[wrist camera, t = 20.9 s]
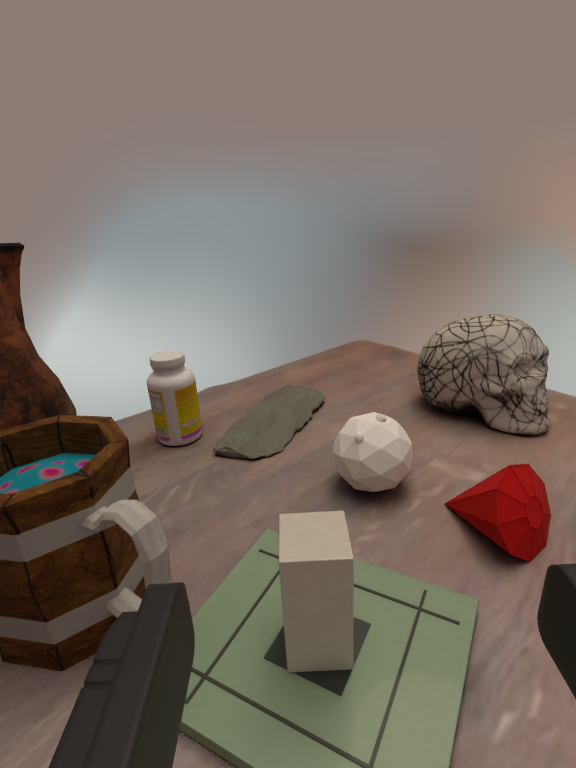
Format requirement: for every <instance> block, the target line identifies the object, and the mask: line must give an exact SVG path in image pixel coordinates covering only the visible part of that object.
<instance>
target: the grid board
mask: <svg viewBox="0 0 576 768" xmlns="http://www.w3.org/2000/svg"><path fill="white" fill-rule="evenodd" d="M478 603H479V600H478V599H475V598H472V597H469V596H466V595H463V594H460V593H458V592H455V591H452V590H449V589H446V588H443V587H440V586H437V585H434V584H431V583H428V582H425V581H422V580H419V579H416V578H413V577H410V576H407V575H404V574H401V573H398V572H395V571H392V570H389V569H386V568H383V567H380V566H377V565H374V564H371V563H368V562H365V561H362V560H359V559H356V558H354V637H353V669H352V670H332V671H310V672H288V671H287V660H286V648H285V635H284V623H283V610H282V598H281V585H280V573H279V532H276V531H273V530H270V529H266V530H265V531H264V532H263V533H262V535H261V536H260V537H259V538H258V539H257V541H256V542H255V543H254V544H253V545H252V547H251V548H250V549H249V550H248V551H247V553H246V554H245V555H244V556H243V557H242V559H241V560H240V561H239V562H238V563H237V565H236V566H235V567H234V568H233V569H232V571H231V572H230V573H229V574H228V575H227V577H226V578H225V579H224V580H223V581H222V583H221V584H220V585H219V586H218V587H217V589H216V590H215V591H214V592H213V593H212V595H211V596H210V597H209V598H208V599H207V601H206V602H205V603H204V604H203V605H202V607H201V608H200V609H199V610H198V611H197V613H196V614H195V615H194V616H193V617H192V622H193V627H194V634H195V649H194V659H193V665H192V670H191V675H190V680H189V685H188V690H187V695H186V700H185V705H184V710H183V715H182V720H181V725H180V731H182V732H184V733H185V734H187V735H188V736H190V737H191V738H193V739H194V740H196V741H197V742H199V743H201V744H202V745H204V746H205V747H207V748H208V749H210V750H211V751H213V752H214V753H216V754H218V755H219V756H221V757H222V758H224V759H225V760H227V761H228V762H230V763H231V764H233V765H234V766H236V767H238V768H450V763H451V758H452V752H453V746H454V741H455V735H456V729H457V724H458V718H459V712H460V707H461V701H462V695H463V689H464V684H465V678H466V672H467V667H468V661H469V655H470V650H471V644H472V638H473V633H474V627H475V621H476V616H477V610H478Z"/></svg>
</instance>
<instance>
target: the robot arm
mask: <svg viewBox="0 0 576 768" xmlns="http://www.w3.org/2000/svg"><path fill="white" fill-rule="evenodd" d="M537 619H538V627H539V631H540V635H541V638H542V640H543V643H544V645H545V647H546V649H547V650H548V652H549V654H550V655H551V657H552V659H553V661H554V662H555V664H556V666H557V667H558V669H559V671H560V673H561V674H562V676H563V678H564V679H565V681H566V683H567V685H568V686H569V688H570V690H571V692H572V693H573V695H574V697H575V698H576V564H561V565H551V566H549V568H548V569H547V573H546V577H545V582H544V587H543V591H542V596H541V601H540V605H539V610H538V618H537ZM194 649H195V634H194V627H193V622H192V617H191V612H190V607H189V602H188V597H187V592H186V587H185V584H184V583H183V582H181V583H162V584H149V585H148V586H147V588H146V590H145V592H144V595H143V598H142V601H141V604H140V606H139V609H138V611H131V612H122V613H121V615H120V616H119V617H118V618H117V619H116V621H115V622H114V623H113V624H112V625H111V626H110V628H109V629H108V630H107V631H106V632H105V634H104V636H103V638H102V640H101V643H100V645H99V648H98V650H97V652H96V655H95V657H94V660H93V665H91V667H90V669H89V672H88V674H87V676H86V679H85V681H84V687H83V688H81V691H80V693H79V696H78V698H77V700H76V703H75V705H74V708H73V710H72V713H71V715H70V717H69V720H68V722H67V725H66V727H65V729H64V732H63V734H62V737H61V739H60V741H59V744H58V746H57V749H56V751H55V753H54V756H53V758H52V761H51V763H50V765H49V768H172V765H173V760H174V755H175V750H176V745H177V740H178V735H179V730H180V725H181V720H182V715H183V710H184V705H185V700H186V695H187V690H188V685H189V680H190V675H191V670H192V665H193V659H194Z"/></svg>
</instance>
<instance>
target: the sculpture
mask: <svg viewBox="0 0 576 768" xmlns="http://www.w3.org/2000/svg"><path fill="white" fill-rule="evenodd" d="M548 354H549V350H548V348H547V347H546V346H545V345H544V344H543V342H542V340H541V339H540V337H539V336H538V335H537V334H536V332H535V330H534V329H533V328H531V326H529V325H528V324H527V323H525V322H523V321H521V320H519V319H517V318H514V317H510V316H505V315H495V314H493V315H485V316H475V317H469V318H464V319H459V320H457V321H454V322H452V323H449V324H447V325H445V326H444V327H442V328H441V329H439V330H438V331H436V332H435V333H434V334H433V335H432V336H431V337H430V338H429V340H428V341H427V342H426V343H425V345H424V346H423V348H422V351H421V353H420V356H419V361H418V379H419V383H420V388H421V391H422V393H423V394H424V396H425V397H426V399H427V400H428V401H429V402H430V403H431V405H432V406H433V407H434V408H436V409H439V410H441V411H443V412H451V413H456V414H461V415H469V414H470V415H480V416H482V417H483V419H484V422H485V424H486V425H487V426H489V427H490V428H495V429H497V430H500V431H505V432H509V433H515V434H519V435H524V436H528V435H541V434H544V433H545V432H546V431H547V429H548V428H549V426H550V421H549V419H548V411H549V409H548V402H547V393H546V386H545V382H546V377H547V371H548V365H547V358H548Z"/></svg>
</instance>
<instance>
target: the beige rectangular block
mask: <svg viewBox="0 0 576 768" xmlns="http://www.w3.org/2000/svg"><path fill="white" fill-rule="evenodd" d="M279 573H280V585H281V598H282V610H283V623H284V635H285V648H286V660H287V671H288V672H310V671H332V670H352V669H353V637H354V557H353V552H352V547H351V542H350V537H349V532H348V527H347V522H346V517H345V512H344V511H327V512H307V513H287V514H280V515H279Z"/></svg>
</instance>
